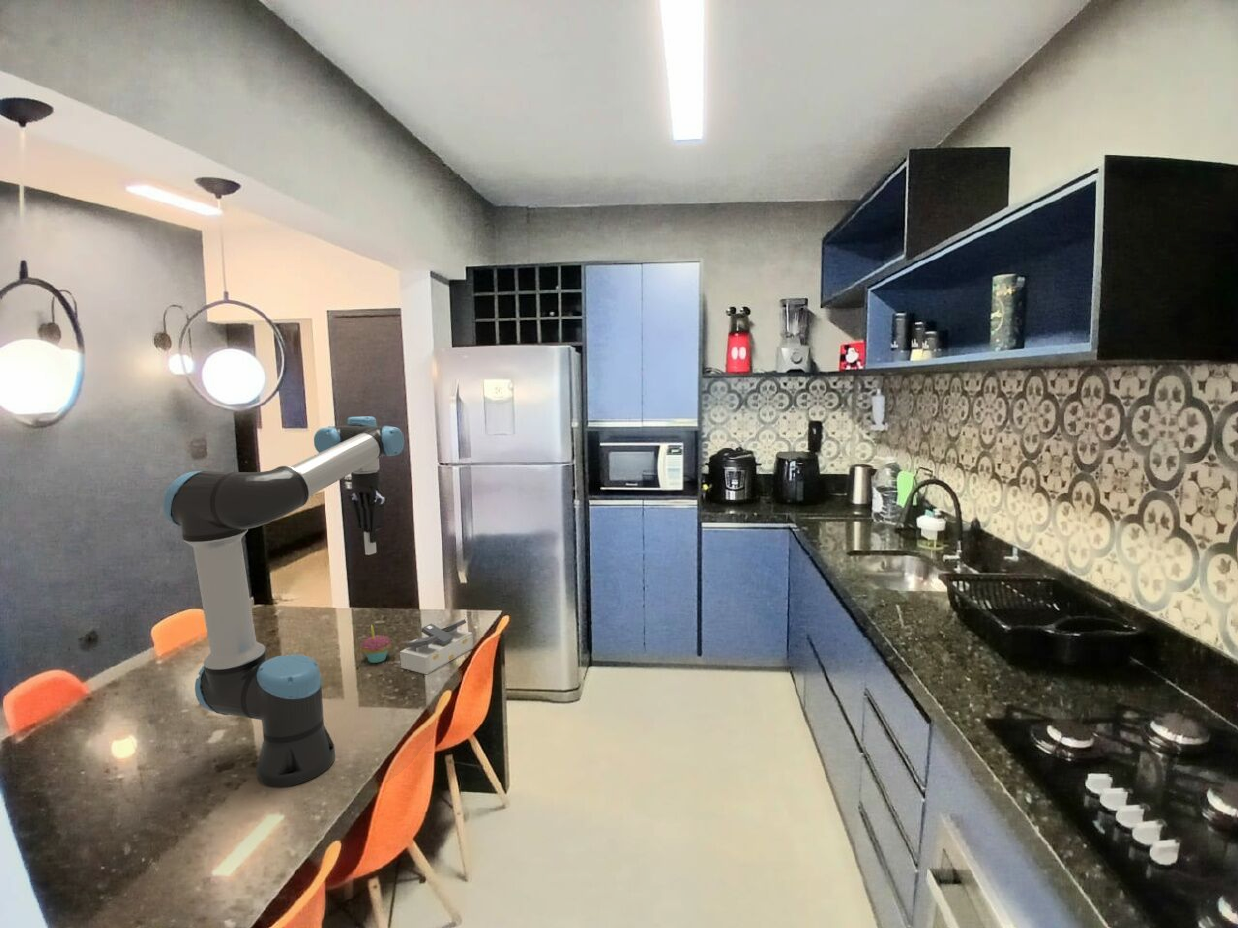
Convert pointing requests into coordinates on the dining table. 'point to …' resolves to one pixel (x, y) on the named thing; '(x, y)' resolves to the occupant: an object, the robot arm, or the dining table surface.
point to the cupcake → (376, 647)
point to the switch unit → (436, 652)
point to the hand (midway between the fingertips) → (370, 553)
